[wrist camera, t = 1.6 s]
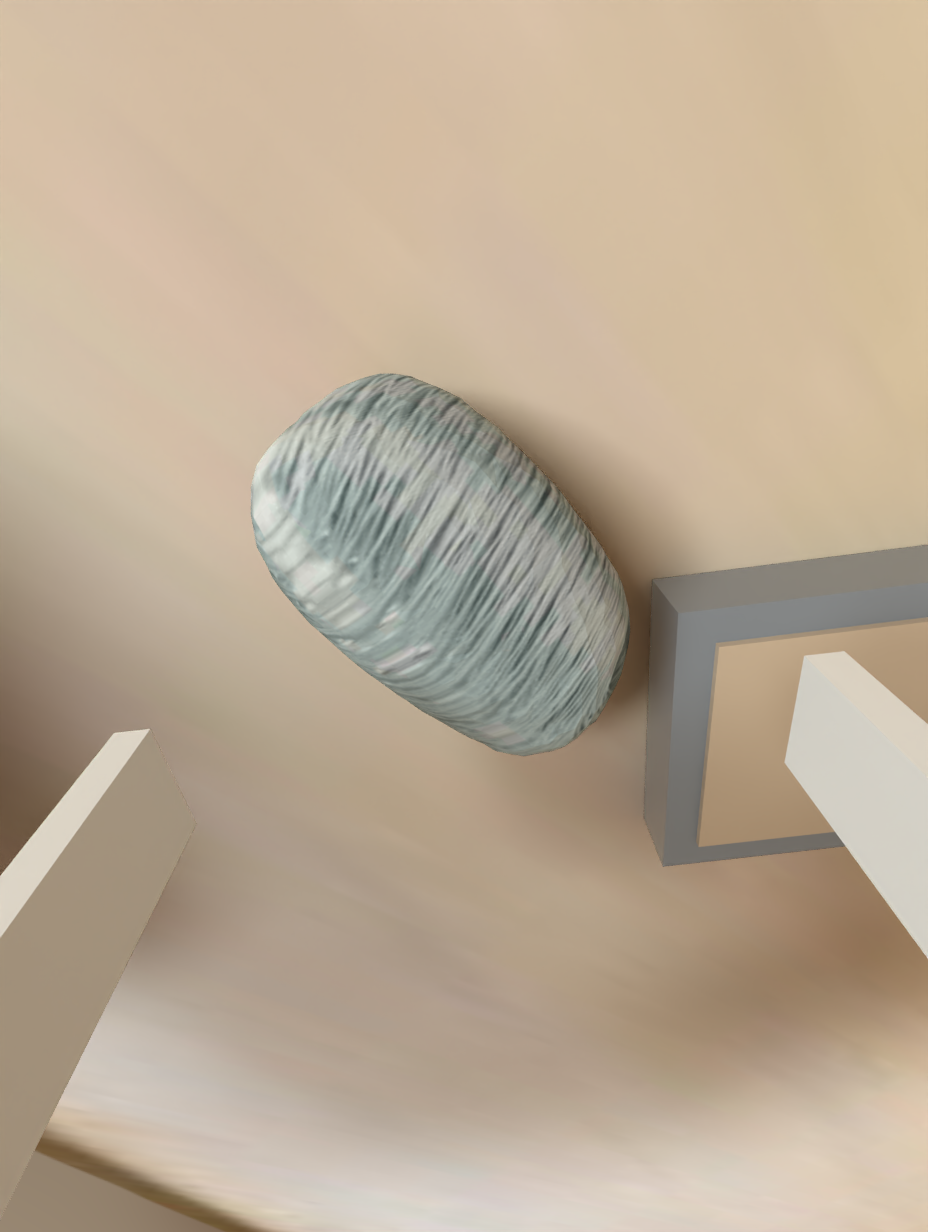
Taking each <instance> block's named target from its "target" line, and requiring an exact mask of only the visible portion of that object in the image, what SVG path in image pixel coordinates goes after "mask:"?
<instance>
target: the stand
mask: <svg viewBox="0 0 928 1232" xmlns="http://www.w3.org/2000/svg"><path fill="white" fill-rule="evenodd" d="M841 651H845V652H846V653H847V654H848V655H849V656H850V657H852V658H853V659H854V660H855V661H856V662H857V663H858V664H860V665H861V666H862V667H863V668H864V669H865V670H866V671H868V672H869V673H870V674H871V675H872V676H873V677H874V678H876V679H877V680H878V681H879V682H880V683H881V684H882V685H884V686H885V687H886V688H887V689H888V690H889V691H890V692H892V693H893V694H894V695H895V696H896V697H897V698H898V699H900V700H901V701H902V702H903V703H904V704H905V705H906V706H908V707H909V708H910V709H911V710H912V711H913V712H914V713H916V714H917V715H918V716H919V717H920V718H921V719H922V720H924V721H925V722H926V723H927V724H928V545H922V546H914V547H906V548H898V549H891V550H883V551H875V552H867V553H859V554H851V555H843V556H835V557H827V558H819V559H811V560H803V561H795V562H787V563H779V564H771V565H763V566H755V567H747V568H739V569H731V570H724V571H716V572H708V573H700V574H692V575H684V576H676V577H668V578H660V579H652V599H651V627H650V655H649V683H648V711H647V740H646V768H645V796H644V820H645V823H646V825H647V828H648V830H649V833H650V835H651V838H652V840H653V843H654V845H655V848H656V850H657V853H658V856H659V858H660V861H661V863H662V866H663V867H664V866H673V865H682V864H691V863H700V862H709V861H718V860H726V859H735V858H744V857H753V856H762V855H771V854H780V853H789V852H798V851H807V850H816V849H825V848H834V847H843V846H845V845H844V843H843V842H842V841H841V839H840V838H839V836H838V835H837V834H836V832H835V831H834V830H833V828H832V827H831V826H830V824H829V823H828V821H827V820H826V819H825V817H824V816H823V815H822V813H821V812H820V810H819V809H818V808H817V806H816V805H815V804H814V802H813V801H812V800H811V798H810V797H809V795H808V794H807V793H806V791H805V790H804V789H803V787H802V786H801V784H800V783H799V782H798V780H797V779H796V778H795V776H794V775H793V774H792V772H791V771H790V769H789V768H788V767H787V765H786V764H785V763H784V762H785V757H786V751H787V746H788V741H789V735H790V730H791V724H792V719H793V714H794V708H795V703H796V697H797V692H798V686H799V681H800V676H801V670H802V665H803V659H804V656H806V655H815V654H824V653H832V652H841Z"/></svg>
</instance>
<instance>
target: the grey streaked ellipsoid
mask: <svg viewBox="0 0 928 1232" xmlns="http://www.w3.org/2000/svg"><path fill="white" fill-rule="evenodd" d="M251 517H252V523H253V528H254V534H255V539H256V544H257V548H258V550H259V552H260V553H261V555H262V557H263V559H264V561H265V563H266V565H267V566H268V569H269V571H270V573H271V575H272V577H273V579H274V580H275V582H276V583H277V585H278V586H279V587H280V589H281V590H282V591H283V593H284V594H285V595H286V596H287V597H288V599H289V600H290V601H291V602H292V603H293V605H294V606H295V607H296V608H297V609H298V610H299V612H300V613H301V614H302V615H303V616H304V617H305V618H306V619H307V620H308V622H309V623H310V624H311V625H312V626H314V627H315V628H316V629H317V630H318V631H319V632H321V633H322V634H323V635H324V636H325V637H326V638H327V639H328V640H329V641H331V642H332V643H333V644H334V645H335V646H336V647H337V648H338V649H339V650H341V651H342V652H343V653H344V654H345V655H346V656H347V657H348V658H350V659H351V660H352V661H353V662H355V663H356V664H357V665H358V666H359V667H361V668H362V669H363V670H364V671H365V672H367V673H368V674H370V675H371V676H373V677H374V678H375V679H377V680H378V681H380V682H381V683H382V684H384V685H385V686H386V687H388V688H389V689H391V690H392V691H393V692H395V693H396V694H398V695H399V696H401V697H402V698H404V699H406V700H407V701H409V702H410V703H411V704H413V705H414V706H416V707H417V708H418V709H420V710H421V711H423V712H425V713H426V714H428V715H430V716H432V717H434V718H436V719H437V720H439V721H441V722H443V723H444V724H446V725H448V726H449V727H451V728H453V729H455V730H456V731H458V732H460V733H462V734H464V735H466V736H467V737H469V738H471V739H474V740H476V741H479V742H481V743H483V744H485V745H487V746H488V747H490V748H492V749H493V750H495V751H498V752H503V753H508V754H514V755H520V756H527V755H532V754H538V753H543V752H550V751H553V750H556V749H559V748H562V747H564V746H566V745H567V744H569V743H570V742H572V741H573V740H575V739H576V738H578V737H579V735H580V734H581V733H582V732H583V731H584V730H585V729H586V728H587V727H588V726H589V725H591V724H592V723H594V722H595V721H596V720H597V718H598V716H599V715H600V713H601V712H602V710H603V709H604V707H605V705H606V703H607V701H608V699H609V698H610V696H611V694H612V692H613V690H614V688H615V686H616V684H617V682H618V680H619V678H620V675H621V673H622V669H623V664H624V660H625V656H626V652H627V648H628V643H629V635H630V619H629V609H628V605H627V600H626V596H625V592H624V588H623V585H622V582H621V580H620V578H619V575H618V573H617V571H616V570H615V568H614V567H613V565H612V564H611V562H610V560H609V559H608V557H607V555H606V554H605V552H604V550H603V548H602V547H601V545H600V544H599V542H598V541H597V540H596V538H595V537H594V535H593V534H592V533H591V531H590V530H589V529H588V527H587V526H586V525H585V523H584V522H583V521H582V520H581V518H580V517H579V516H578V515H577V513H576V512H575V511H574V509H573V508H572V507H571V505H570V504H569V503H568V501H567V500H566V498H565V497H564V495H563V494H562V493H561V492H560V491H559V489H558V488H557V487H556V486H555V485H554V484H553V482H552V481H551V480H550V479H549V478H548V477H547V476H546V475H545V474H544V473H543V472H542V471H541V470H540V469H539V468H538V467H537V466H536V465H535V464H534V463H533V462H532V461H531V460H530V459H529V458H528V457H527V456H526V455H525V454H524V453H523V452H522V451H521V450H520V449H519V448H518V447H517V446H515V445H514V444H513V443H512V442H511V441H510V440H509V439H508V438H507V437H506V436H505V435H504V434H503V433H502V431H501V430H500V429H499V428H498V427H497V426H495V425H494V424H492V423H491V422H490V421H488V420H487V419H485V418H484V417H483V416H481V415H480V414H478V413H477V412H476V411H475V410H473V409H472V408H471V407H470V406H469V405H468V404H466V403H465V402H464V401H463V400H462V399H461V398H459V397H457V396H455V395H453V394H451V393H449V392H447V391H445V390H443V389H440V388H438V387H435V386H433V385H430V384H428V383H425V382H423V381H420V380H418V379H415V378H413V377H410V376H404V375H398V374H377V375H373V376H369V377H365V378H362V379H360V380H357V381H354V382H352V383H349V384H347V385H345V386H342V387H340V388H337V389H336V390H334V391H333V392H332V393H330V394H329V395H327V396H326V397H325V398H324V399H322V400H321V401H320V402H318V403H317V404H316V405H314V406H313V407H311V408H310V409H309V410H307V411H306V412H305V413H303V415H302V416H301V418H300V419H299V420H298V421H297V422H296V423H294V424H293V425H292V426H290V427H289V428H288V429H287V430H286V431H285V432H284V433H283V434H282V435H281V436H280V437H279V438H278V439H277V440H276V441H275V442H274V443H273V444H272V445H271V446H270V447H269V448H268V450H267V451H266V453H265V454H264V455H263V457H262V458H261V460H260V461H259V463H258V464H257V467H256V470H255V474H254V477H253V481H252V486H251Z"/></svg>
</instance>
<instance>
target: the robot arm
mask: <svg viewBox="0 0 928 1232" xmlns="http://www.w3.org/2000/svg"><path fill="white" fill-rule="evenodd" d="M784 763H785V764H786V765H787V767H788V768H789V769H790V771H791V772H792V774H793V775H794V776H795V778H796V779H797V780H798V782H799V783H800V784H801V786H802V787H803V789H804V790H805V791H806V793H807V794H808V795H809V797H810V798H811V800H812V801H813V802H814V804H815V805H816V806H817V808H818V809H819V810H820V812H821V813H822V815H823V816H824V817H825V819H826V820H827V821H828V823H829V824H830V826H831V827H832V828H833V830H834V831H835V832H836V834H837V835H838V836H839V838H840V839H841V841H842V842H843V843H844V845H845V846H846V847H847V849H848V850H849V852H850V853H851V854H852V856H853V857H854V858H855V860H856V861H857V862H858V864H859V865H860V867H861V868H862V869H863V871H864V872H865V873H866V875H867V876H868V878H869V879H870V880H871V882H872V883H873V884H874V886H875V887H876V888H877V890H878V891H879V893H880V894H881V895H882V897H883V898H884V899H885V901H886V902H887V904H888V905H889V906H890V908H891V909H892V910H893V912H894V913H895V914H896V916H897V917H898V919H899V920H900V921H901V923H902V924H903V925H904V927H905V928H906V930H907V931H908V932H909V934H910V935H911V936H912V938H913V939H914V940H915V942H916V943H917V945H918V946H919V947H920V949H921V950H922V951H923V953H924V954H925V956H926V957H927V958H928V724H927V723H926V722H925V721H924V720H922V719H921V718H920V717H919V716H918V715H917V714H916V713H914V712H913V711H912V710H911V709H910V708H909V707H908V706H906V705H905V704H904V703H903V702H902V701H901V700H900V699H898V698H897V697H896V696H895V695H894V694H893V693H892V692H890V691H889V690H888V689H887V688H886V687H885V686H884V685H882V684H881V683H880V682H879V681H878V680H877V679H876V678H874V677H873V676H872V675H871V674H870V673H869V672H868V671H866V670H865V669H864V668H863V667H862V666H861V665H860V664H858V663H857V662H856V661H855V660H854V659H853V658H852V657H850V656H849V655H848V654H847V653H846V652H845V651H841V652H832V653H824V654H815V655H806V656H804V659H803V665H802V670H801V676H800V681H799V686H798V692H797V697H796V703H795V708H794V714H793V719H792V724H791V730H790V735H789V741H788V746H787V751H786V757H785V762H784ZM195 826H196V822H195V820H194V818H193V815H192V813H191V811H190V809H189V807H188V805H187V803H186V801H185V799H184V797H183V795H182V793H181V791H180V789H179V787H178V785H177V783H176V780H175V778H174V776H173V774H172V772H171V770H170V768H169V766H168V764H167V762H166V760H165V758H164V756H163V754H162V752H161V750H160V747H159V745H158V743H157V741H156V739H155V737H154V735H153V733H152V731H151V729H144V730H135V731H126V732H117V733H114V734H113V735H112V736H111V737H110V739H109V740H108V741H107V743H106V744H105V745H104V746H103V748H102V749H101V750H100V751H99V753H98V754H97V755H96V756H95V758H94V759H93V760H92V761H91V763H90V764H89V765H88V766H87V768H86V769H85V770H84V771H83V773H82V774H81V775H80V776H79V778H78V779H77V780H76V781H75V783H74V784H73V785H72V786H71V788H70V789H69V790H68V791H67V793H66V794H65V795H64V796H63V798H62V799H61V800H60V802H59V803H58V804H57V805H56V807H55V808H54V809H53V810H52V812H51V813H50V814H49V815H48V817H47V818H46V819H45V820H44V822H43V823H42V824H41V825H40V827H39V828H38V829H37V830H36V832H35V833H34V834H33V835H32V837H31V838H30V839H29V840H28V842H27V843H26V844H25V845H24V847H23V848H22V849H21V850H20V852H19V853H18V854H17V855H16V857H15V858H14V859H13V861H12V862H11V863H10V864H9V866H8V867H7V868H6V869H5V871H4V872H3V873H2V874H1V876H0V1219H1V1217H2V1215H3V1213H4V1211H5V1209H6V1207H7V1205H8V1203H9V1201H10V1199H11V1197H12V1194H13V1193H14V1191H15V1189H16V1187H17V1184H18V1183H19V1180H20V1178H21V1177H22V1174H23V1172H24V1170H25V1168H26V1166H27V1164H28V1162H29V1160H30V1158H31V1156H32V1154H33V1152H34V1150H35V1148H36V1146H37V1144H38V1142H39V1140H40V1138H41V1136H42V1134H43V1132H44V1130H45V1128H46V1126H47V1124H48V1122H49V1120H50V1118H51V1116H52V1114H53V1112H54V1110H55V1108H56V1106H57V1104H58V1102H59V1100H60V1098H61V1096H62V1094H63V1092H64V1090H65V1088H66V1086H67V1084H68V1082H69V1080H70V1078H71V1076H72V1074H73V1072H74V1070H75V1068H76V1066H77V1064H78V1062H79V1060H80V1058H81V1056H82V1054H83V1052H84V1050H85V1048H86V1046H87V1044H88V1042H89V1040H90V1037H91V1035H92V1033H93V1031H94V1029H95V1027H96V1025H97V1023H98V1021H99V1019H100V1017H101V1015H102V1013H103V1011H104V1009H105V1007H106V1005H107V1003H108V1001H109V999H110V997H111V995H112V993H113V991H114V989H115V987H116V985H117V983H118V981H119V979H120V977H121V975H122V973H123V971H124V969H125V967H126V965H127V963H128V961H129V959H130V957H131V955H132V953H133V951H134V949H135V947H136V945H137V943H138V941H139V939H140V937H141V935H142V933H143V931H144V929H145V927H146V925H147V923H148V921H149V919H150V917H151V915H152V913H153V911H154V909H155V907H156V905H157V902H158V900H159V898H160V896H161V894H162V892H163V890H164V888H165V886H166V884H167V882H168V880H169V878H170V876H171V874H172V872H173V870H174V868H175V866H176V864H177V862H178V860H179V858H180V856H181V854H182V852H183V850H184V848H185V846H186V844H187V842H188V840H189V838H190V836H191V834H192V832H193V830H194V828H195Z"/></svg>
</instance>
